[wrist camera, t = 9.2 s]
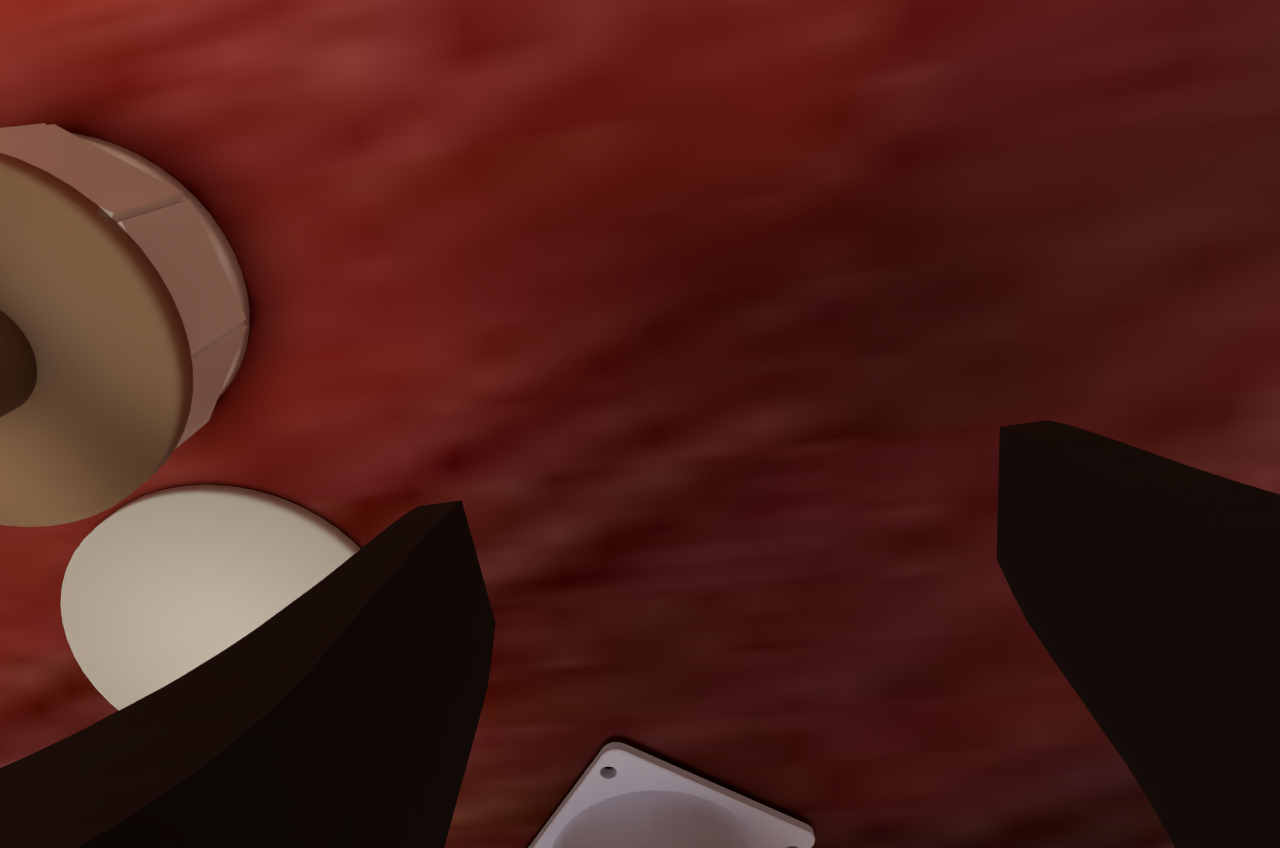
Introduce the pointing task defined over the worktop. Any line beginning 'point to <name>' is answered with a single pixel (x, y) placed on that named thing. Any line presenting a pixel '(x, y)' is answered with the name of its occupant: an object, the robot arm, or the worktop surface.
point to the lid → (80, 355)
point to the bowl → (158, 245)
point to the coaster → (187, 581)
